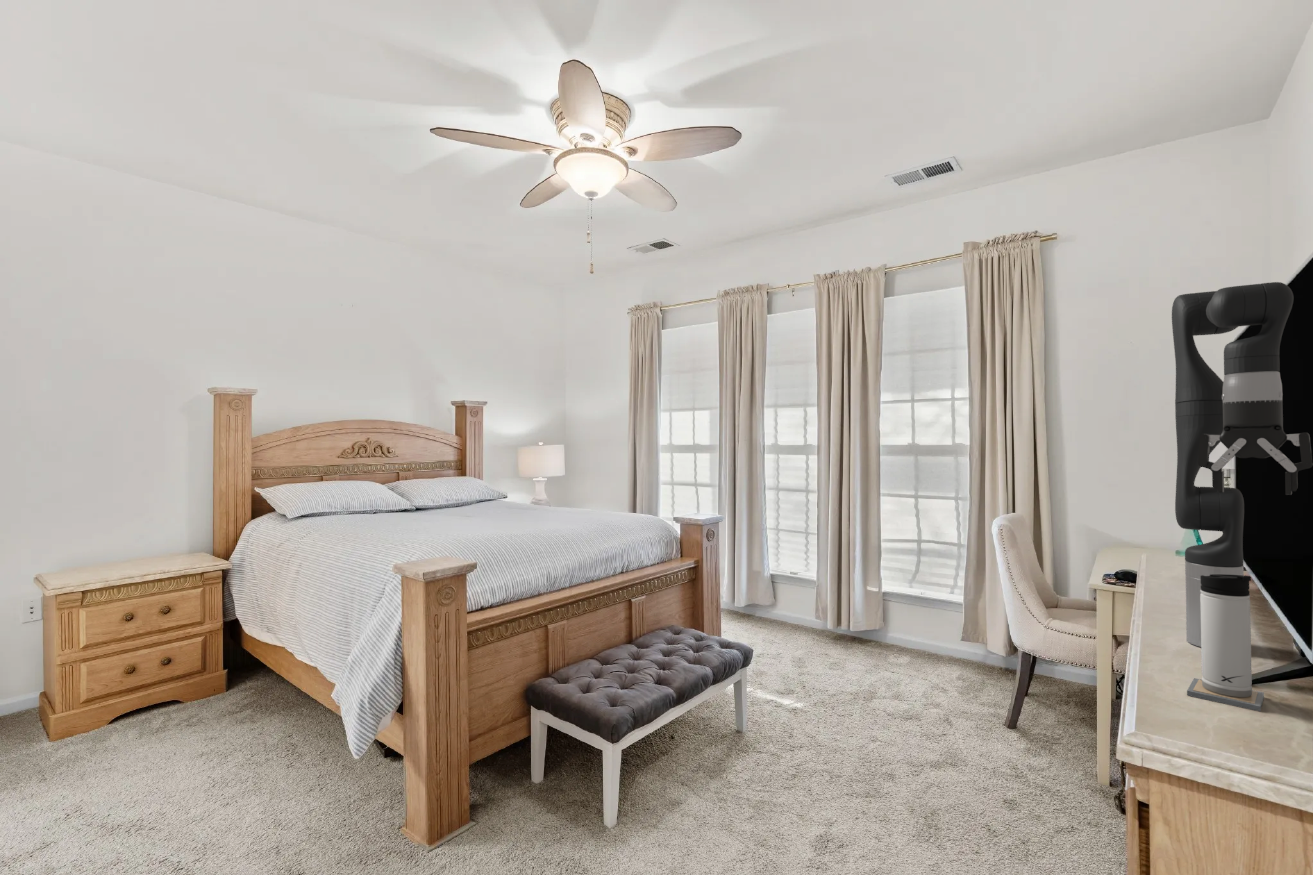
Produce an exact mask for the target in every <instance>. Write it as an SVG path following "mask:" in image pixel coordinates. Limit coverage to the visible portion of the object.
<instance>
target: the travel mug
mask: <svg viewBox="0 0 1313 875" xmlns="http://www.w3.org/2000/svg"><path fill="white" fill-rule="evenodd" d="M1200 579H1201V589H1200V592H1201V594H1200V602H1201V647H1200V649H1201V654H1200V655H1201V676H1202V677H1201V680H1202V686H1203V687H1204V688H1205V689H1207V690H1209V691H1211V692H1214V693H1217V694H1220V695H1224V696H1230V697H1238V698H1245V697H1249V696H1251V695H1252V690H1253V687H1252V683H1253V682H1252V681H1253V680H1252V678H1253V677H1252V672H1253V671H1252V670H1253V669H1252V631H1251V630H1252V628H1251V625H1252V623H1251V622H1252V621H1251V599H1250V598H1251V594H1250V593H1251V592H1250V582H1251V581H1252V576H1251V575H1246V574H1245V575H1244V576H1243V575H1227V574H1211V575H1210V576H1204V575H1201V576H1200Z"/></svg>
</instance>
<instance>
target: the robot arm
mask: <svg viewBox="0 0 1313 875" xmlns="http://www.w3.org/2000/svg"><path fill="white" fill-rule="evenodd" d="M1293 304H1294V293H1293V291H1292V289H1291V288H1290V286H1288V285H1287V284H1286V283H1284V282H1279V281H1274V282H1271V281H1270V282H1263V283H1255V284H1245V285H1244V284H1243V285H1236V286H1228V287H1223V288H1219V289H1218V290H1215V291H1214V290H1211V291H1203V292H1202V291H1201V292H1195V293H1184V294H1183V293H1182V294H1180V295H1177V296H1176V297H1175V298H1174V301H1173V303H1172V307H1171V327H1172V336H1173V348H1174V358H1175V397H1174V398H1175V400H1174V404H1175V405H1174V407H1175V412H1174V415H1175V419H1174V420H1175V431H1176V432H1175V433H1176V451H1177V452H1176V453H1177V457H1176V458H1177V459H1176V482H1175V484H1176V485H1175V501H1174V502H1175V503H1174V504H1175V506H1174V511H1175V520H1176V522H1177V525H1178V526H1179V528H1181V529H1185V530H1191V531H1195V530H1196V531H1207V532H1211V531H1212V532H1222V535H1221V536H1219V537H1218V538H1217V539H1215V540H1212V541H1208V542H1206V543H1202V544H1197V545H1195V544H1194V545H1190V546H1188V547H1186V549H1185V550H1184V563H1185V564H1184V567H1185V569H1184V571H1185V619H1186V620H1185V621H1186V622H1185V625H1186V626H1185V628H1186V630H1185V631H1186V632H1185V633H1186V642H1187V643H1188V644H1191V645H1193V646H1195V647H1196V646H1197V647H1198V648H1199V647H1200V648H1201V602H1200V594H1201V592H1200V589H1201V579H1200V576H1201V575H1204V576H1210V575H1211V574H1227V575H1243V576H1245V575H1244V571H1245V570H1244V569H1245V568H1244V549H1243V548H1244V547H1243V546H1244V544H1243V543H1244V542H1243V541H1244V538H1243V537H1244V522H1245V500H1244V497H1243V494H1242V492H1241V490H1240V489H1238V488H1237V487H1235V488H1234V487H1225V471H1223V468H1224V467H1225V466H1226V465H1227V464H1228V463H1229V462H1230V461H1232V459H1233V458H1234V457H1237V458H1239V459H1248V458H1256V459H1267V458H1269V457H1272V458H1273V459H1274V460H1275V461H1276V462H1278V464H1280V465H1281V466H1282V467H1283V468H1284V469H1285V470H1286V471H1285V472H1284V477H1285V478H1284V479H1285V480H1284V482H1285V484H1284V486H1285V491H1284V492H1285V495H1286V496H1288V495H1289V496H1292V494H1293V492H1297V489H1298V486H1299V483H1298V474H1299V471H1302V470H1303V471H1304V470H1307V469H1311V468H1312V467H1313V456H1312V455H1313V454H1312V446H1311V445H1312V444H1311V437H1310V434H1309V433H1308V432H1305V431H1304V432H1300V433H1289V434H1287V433H1286V432H1285V431H1284V417H1283V416H1284V414H1283V410H1284V409H1283V395H1284V394H1283V383H1282V379H1281V372H1280V371H1281V370H1280V369H1281V368H1280V366H1281V365H1280V363H1281V362H1280V360H1281V359H1280V348H1281V347H1280V346H1281V342H1282V336H1283V333H1284V329H1285V327H1286V323H1287V321H1288V318H1289V316H1290V313H1291V311H1292V309H1293ZM1259 325H1261V329H1260V331H1259V333H1257V334H1256V335H1254V336H1251V337H1246V338H1241V339H1236V340H1233V341H1230V342H1229V343H1226V344H1225V346H1224V349H1223V380H1222V379H1221V377H1219V375H1218V374H1217V373H1216V372H1215V371H1213V369H1212V368H1211V367H1210V366H1209V365H1208V364H1207V362H1206V361H1205V360H1204V358H1203V357H1202V356H1201V354H1200V352H1199V350H1198V348H1197V345H1196V342H1195V338H1194V337H1196V336H1211V335H1212V336H1213V335H1221V334H1226V333H1227V334H1228V333H1229V332H1232V331H1234V330H1236V329H1237V328H1238V327H1247V326H1248V327H1249V326H1259ZM1287 441H1291V443H1292V444H1293V445H1294V446H1296V447H1299V450H1300V451H1299V452H1300V460H1301V461H1300V462H1297V463H1294V462H1292V461H1291V460H1290V458H1288V457H1287V456H1286V455H1285V454H1284V453H1283V452H1282V451H1281V450H1280V448H1281V447H1282V446H1283V445H1284V444H1285V443H1286V442H1287ZM1220 443H1221V444H1222V445H1223V446H1224V447H1225V448H1226V449H1227V450H1225V451H1224V453H1223V454H1222V455H1221V456H1219V458H1218V459H1217V460H1216V461H1215V462H1213V461H1210V455H1211V453H1212V452H1213V451H1214V450H1215V449H1216V447H1217V446H1218V445H1219V444H1220ZM1201 468H1205V469H1208V470H1210V471H1211V477H1212V478H1211V480H1212V481H1211V482H1212V484H1211V485H1212V486H1196V485H1195V481H1196V478H1197V475H1198V474H1199V471H1200V470H1201Z"/></svg>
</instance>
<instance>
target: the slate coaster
mask: <svg viewBox="0 0 1313 875" xmlns="http://www.w3.org/2000/svg"><path fill="white" fill-rule="evenodd" d="M1186 696H1188V697H1192V698H1193V697H1194V698H1198V699H1201V700H1207V701H1211V702H1215V703H1220V704H1225V705H1229V706H1233V707H1238V708H1242V709H1247V710H1251V711H1257V712H1261V710H1262V706H1263V703H1264V699H1265V692H1263V691H1261V690H1254V689H1252V695H1251V696H1249V697H1245V698H1238V697H1230V696H1224V695H1220V694H1217V693H1214V692H1211V691H1209V690H1207V689H1205V688H1204V687H1203V686H1202V678H1201V679H1200V678H1193V679H1192V681H1191V682H1190V685H1189V687H1188V688H1187V690H1186Z"/></svg>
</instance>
